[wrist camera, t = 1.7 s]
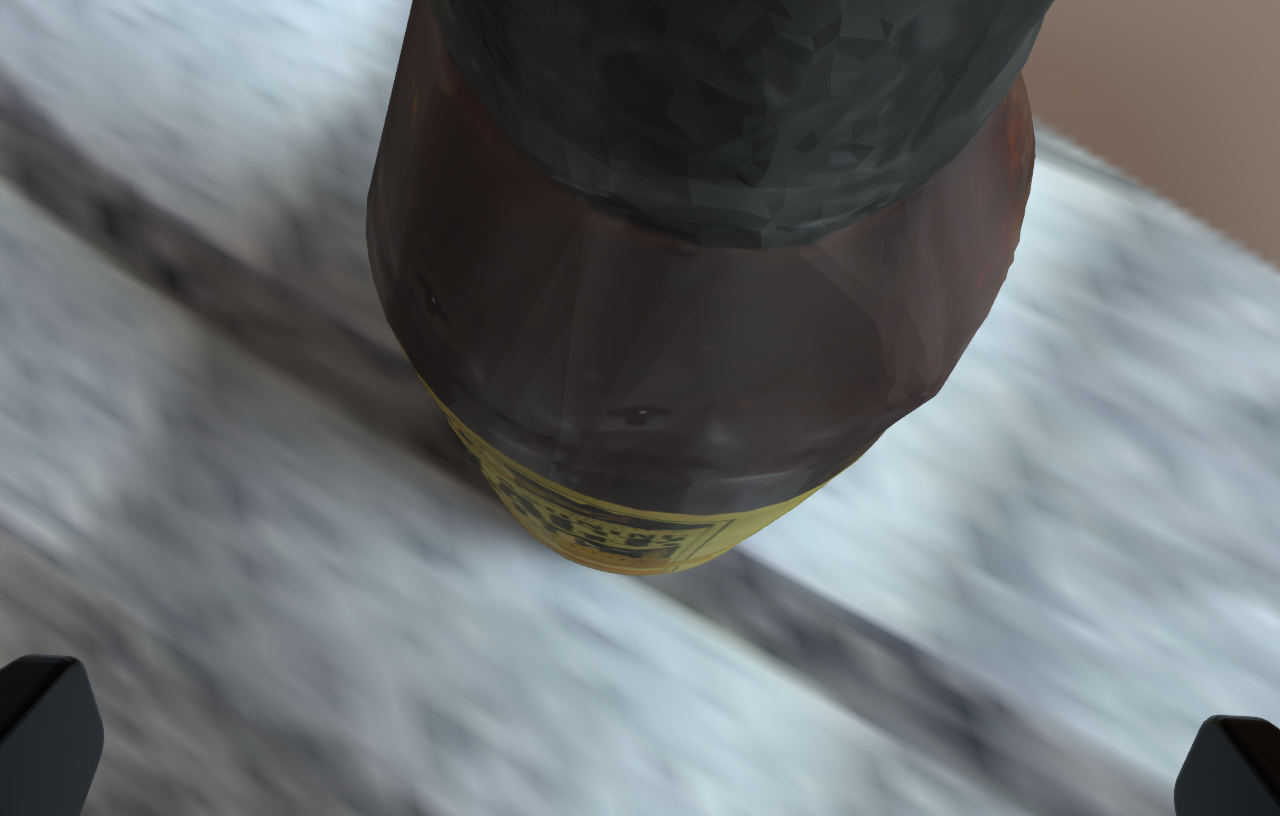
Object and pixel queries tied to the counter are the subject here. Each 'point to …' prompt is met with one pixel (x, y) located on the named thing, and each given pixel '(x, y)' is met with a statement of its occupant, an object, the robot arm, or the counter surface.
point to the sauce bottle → (693, 244)
